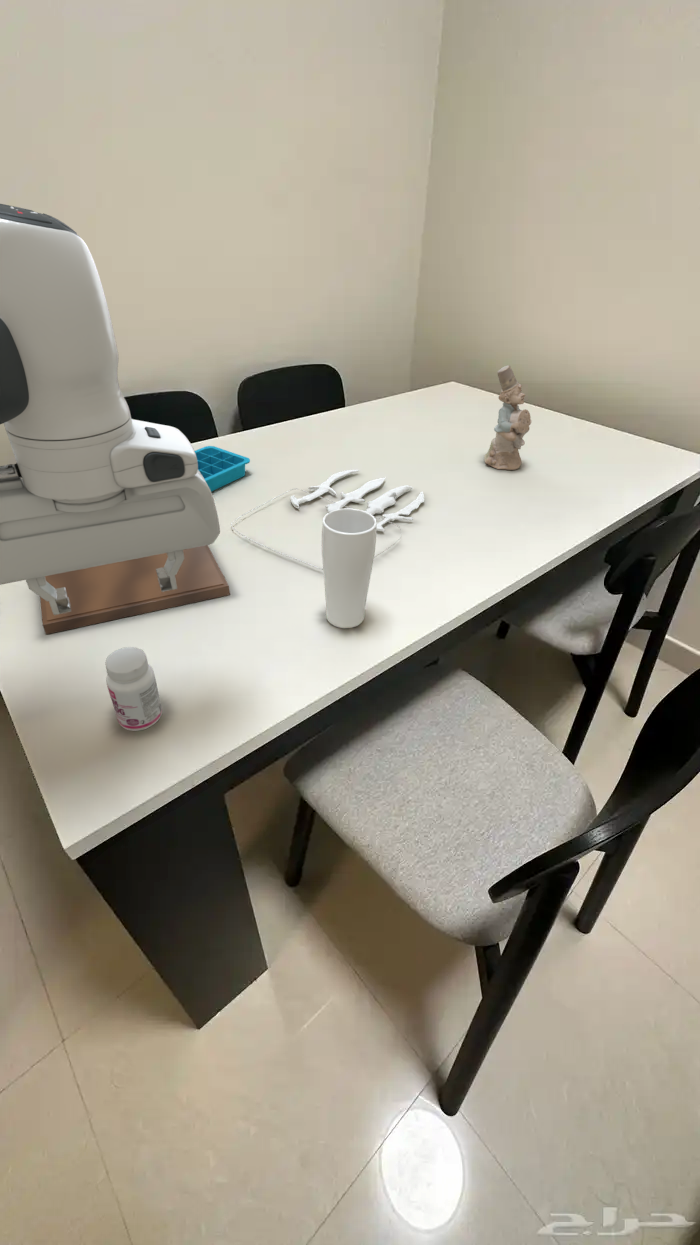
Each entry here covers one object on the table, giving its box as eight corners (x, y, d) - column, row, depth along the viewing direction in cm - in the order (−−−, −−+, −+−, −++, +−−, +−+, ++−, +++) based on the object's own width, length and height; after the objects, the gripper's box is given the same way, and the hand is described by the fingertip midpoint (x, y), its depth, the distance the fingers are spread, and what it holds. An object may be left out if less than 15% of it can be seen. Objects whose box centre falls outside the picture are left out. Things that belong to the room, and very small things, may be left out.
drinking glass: (369, 634, 77) (378, 535, 68) (318, 632, 77) (320, 532, 68) (369, 604, 82) (376, 508, 73) (321, 602, 82) (323, 506, 73)
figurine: (473, 462, 124) (491, 364, 112) (493, 452, 130) (512, 357, 117) (509, 475, 120) (533, 374, 108) (529, 464, 125) (553, 366, 113)
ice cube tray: (253, 474, 115) (253, 459, 113) (176, 510, 102) (173, 495, 100) (211, 458, 120) (209, 444, 118) (132, 492, 106) (128, 476, 105)
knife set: (452, 502, 109) (453, 496, 108) (344, 584, 86) (345, 578, 85) (341, 465, 120) (341, 460, 119) (219, 530, 97) (218, 523, 96)
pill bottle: (108, 724, 63) (90, 666, 58) (136, 695, 66) (121, 638, 61) (144, 737, 62) (129, 680, 56) (171, 707, 65) (159, 651, 60)
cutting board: (46, 634, 74) (42, 624, 73) (40, 577, 84) (37, 567, 83) (229, 594, 83) (229, 585, 82) (205, 547, 92) (204, 538, 91)
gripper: (-79, 494, 40) (-9, 646, 48) (215, 453, 47) (231, 592, 56) (-71, 459, 44) (-8, 604, 53) (197, 427, 51) (214, 560, 60)
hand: (117, 598), depth 54 cm, fingers open, 8 cm apart
